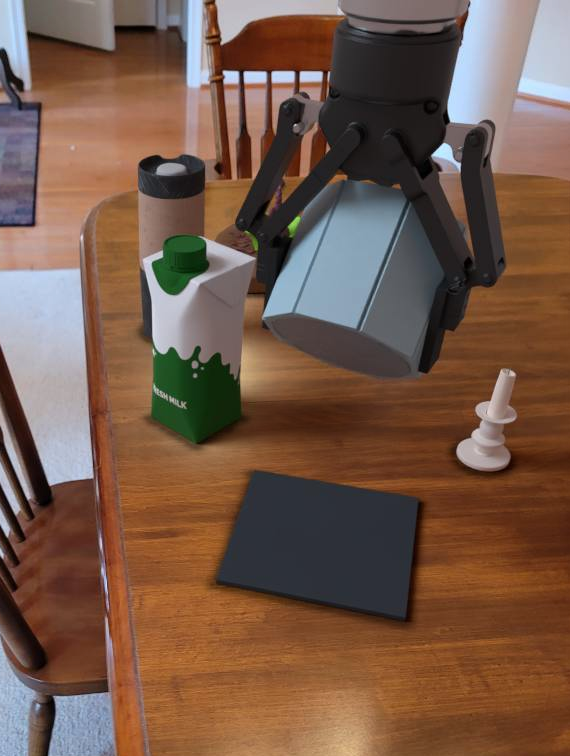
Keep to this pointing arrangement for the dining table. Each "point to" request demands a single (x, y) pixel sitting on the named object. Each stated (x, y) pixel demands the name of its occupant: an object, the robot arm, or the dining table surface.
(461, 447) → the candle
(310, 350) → the pail
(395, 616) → the mat
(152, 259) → the milk carton
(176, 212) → the travel mug
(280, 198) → the plant
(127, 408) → the dining table surface
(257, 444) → the dining table surface
